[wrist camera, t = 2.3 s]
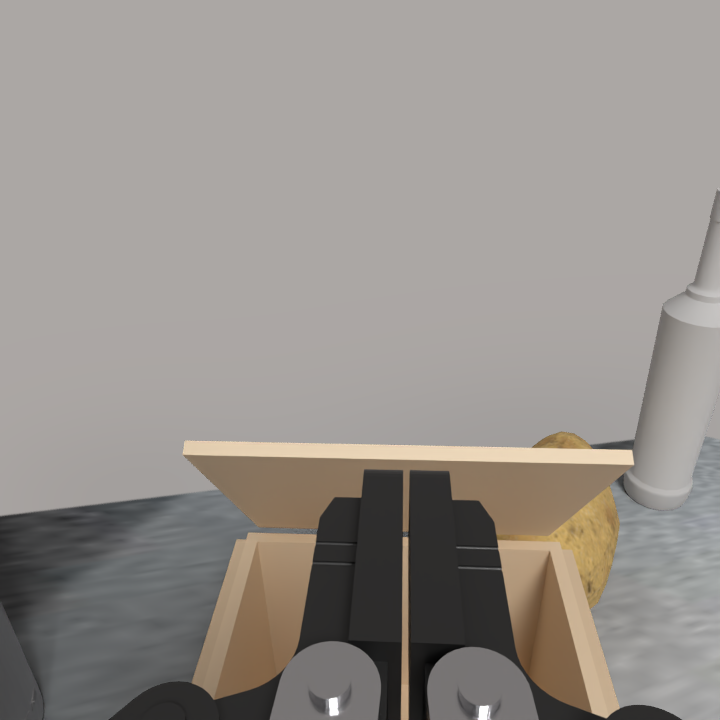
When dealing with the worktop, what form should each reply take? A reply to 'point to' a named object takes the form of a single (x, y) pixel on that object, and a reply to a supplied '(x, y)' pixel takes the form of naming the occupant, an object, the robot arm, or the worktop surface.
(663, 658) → the worktop surface
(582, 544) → the potato
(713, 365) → the bottle
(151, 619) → the worktop surface
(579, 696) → the carton
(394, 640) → the robot arm
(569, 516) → the carton flap
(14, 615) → the worktop surface
